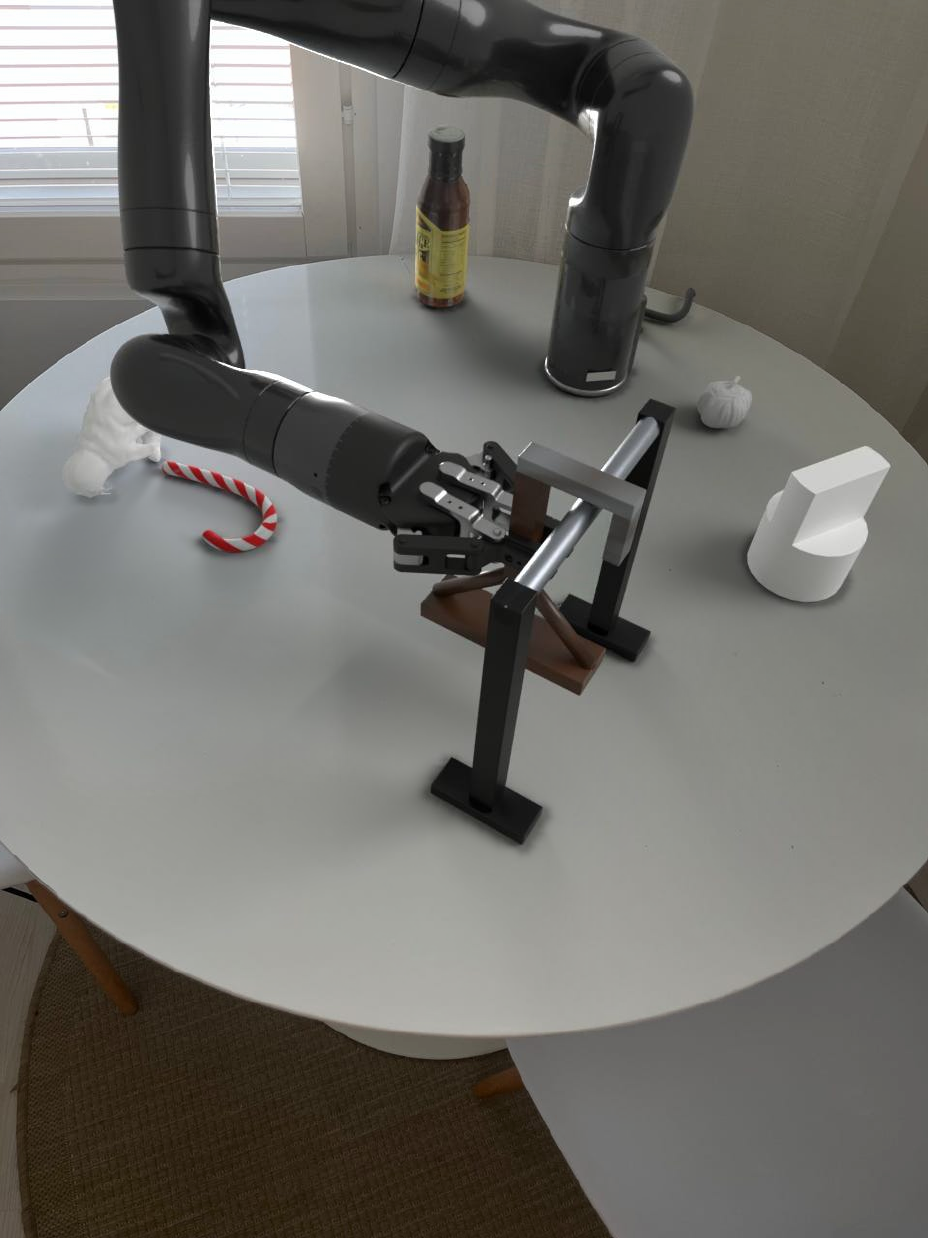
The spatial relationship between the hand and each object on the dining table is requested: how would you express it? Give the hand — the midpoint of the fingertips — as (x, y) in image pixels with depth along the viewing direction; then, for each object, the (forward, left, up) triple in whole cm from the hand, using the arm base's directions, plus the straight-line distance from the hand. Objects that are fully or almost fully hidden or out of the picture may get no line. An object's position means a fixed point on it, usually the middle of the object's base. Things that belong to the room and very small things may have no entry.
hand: (563, 556), depth 61 cm
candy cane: (+10, -36, -18) cm, 41 cm away
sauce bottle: (-31, -53, -18) cm, 64 cm away
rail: (0, +1, -18) cm, 18 cm away
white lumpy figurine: (+15, -46, -18) cm, 51 cm away
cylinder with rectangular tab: (-30, +3, -18) cm, 35 cm away
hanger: (+1, -3, -11) cm, 11 cm away
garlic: (-41, -16, -18) cm, 48 cm away
